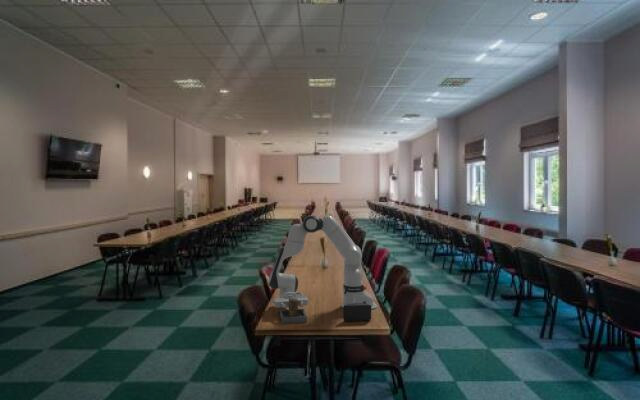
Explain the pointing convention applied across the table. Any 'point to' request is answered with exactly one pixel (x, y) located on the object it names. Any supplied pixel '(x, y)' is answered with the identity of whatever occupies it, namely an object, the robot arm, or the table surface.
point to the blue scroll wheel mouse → (357, 312)
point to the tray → (286, 319)
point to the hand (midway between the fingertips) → (293, 306)
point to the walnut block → (293, 307)
